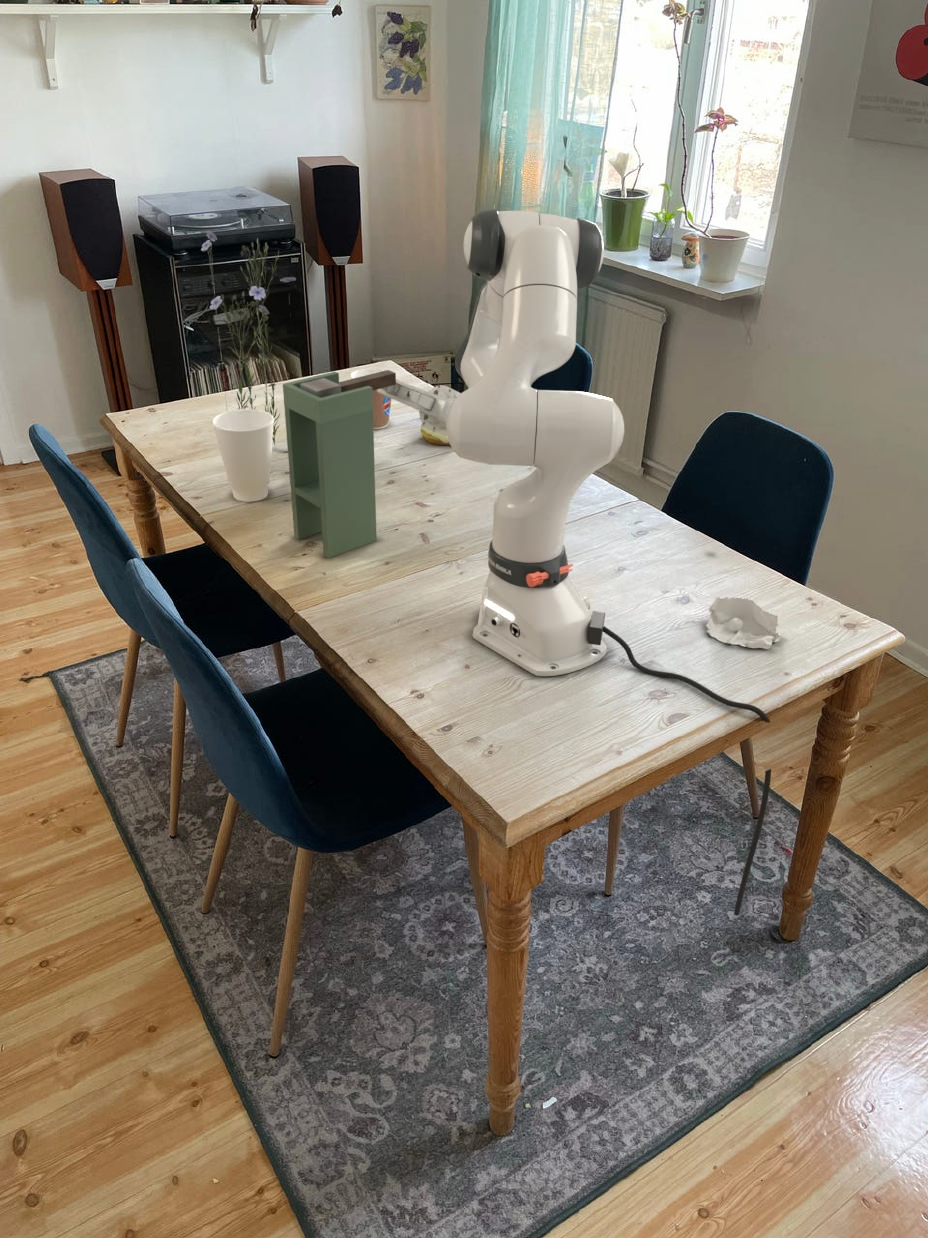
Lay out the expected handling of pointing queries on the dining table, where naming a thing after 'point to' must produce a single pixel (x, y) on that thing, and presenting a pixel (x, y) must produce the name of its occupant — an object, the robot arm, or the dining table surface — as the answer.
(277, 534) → the dining table surface
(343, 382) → the mallet
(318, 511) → the stand
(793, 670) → the dining table surface
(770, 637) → the jagged white shell
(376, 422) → the coffee cup
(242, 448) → the cup
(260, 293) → the wildflower
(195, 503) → the dining table surface
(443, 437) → the decorated donut
